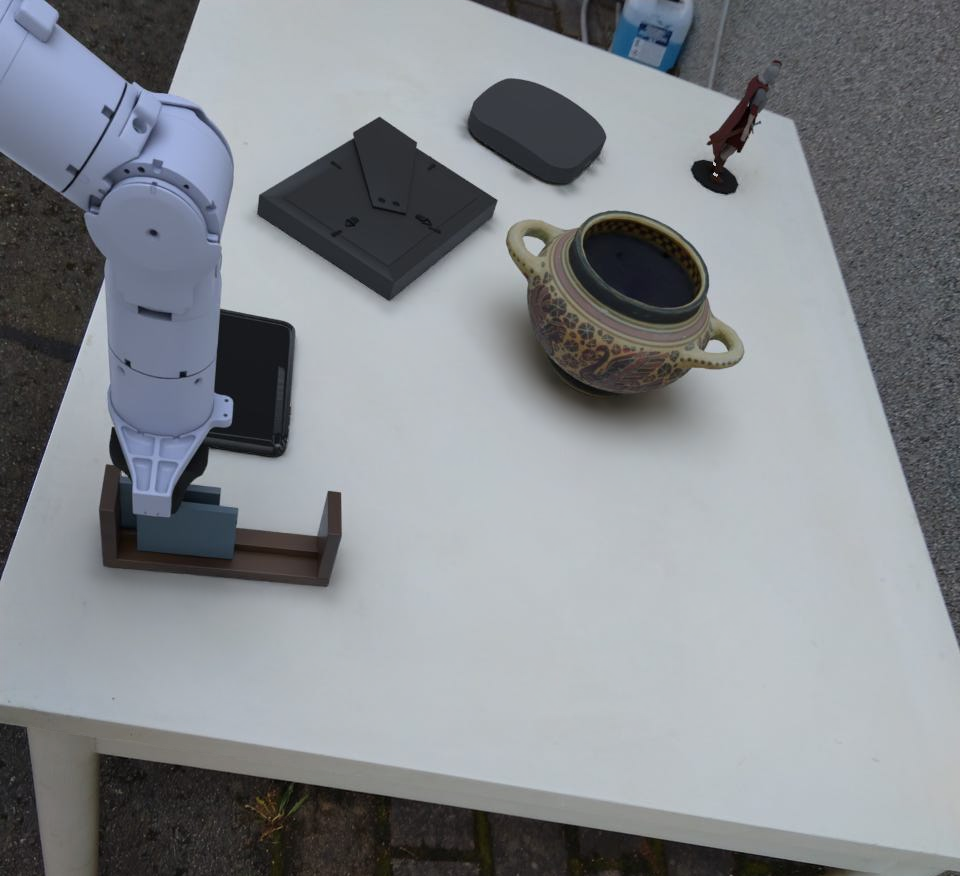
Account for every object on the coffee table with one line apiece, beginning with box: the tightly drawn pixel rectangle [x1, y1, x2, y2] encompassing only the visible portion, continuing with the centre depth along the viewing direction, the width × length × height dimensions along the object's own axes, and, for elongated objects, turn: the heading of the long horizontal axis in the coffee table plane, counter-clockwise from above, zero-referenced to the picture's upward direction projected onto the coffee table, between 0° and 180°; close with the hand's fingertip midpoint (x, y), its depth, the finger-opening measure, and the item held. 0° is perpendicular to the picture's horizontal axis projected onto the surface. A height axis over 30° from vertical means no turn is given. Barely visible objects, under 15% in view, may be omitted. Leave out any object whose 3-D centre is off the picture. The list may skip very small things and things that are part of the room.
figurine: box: [690, 59, 783, 196], centre depth 114 cm, size 7×7×15 cm
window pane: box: [136, 502, 239, 559], centre depth 64 cm, size 7×1×8 cm, turn 95°
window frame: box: [98, 463, 343, 587], centre depth 67 cm, size 16×4×6 cm, turn 95°
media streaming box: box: [467, 77, 607, 184], centre depth 111 cm, size 15×15×3 cm
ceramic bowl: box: [505, 209, 745, 398], centre depth 88 cm, size 24×18×15 cm
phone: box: [201, 308, 297, 457], centre depth 78 cm, size 8×1×15 cm
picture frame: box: [256, 116, 499, 301], centre depth 95 cm, size 16×3×21 cm
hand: (161, 497), depth 62 cm, fingers closed on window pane
